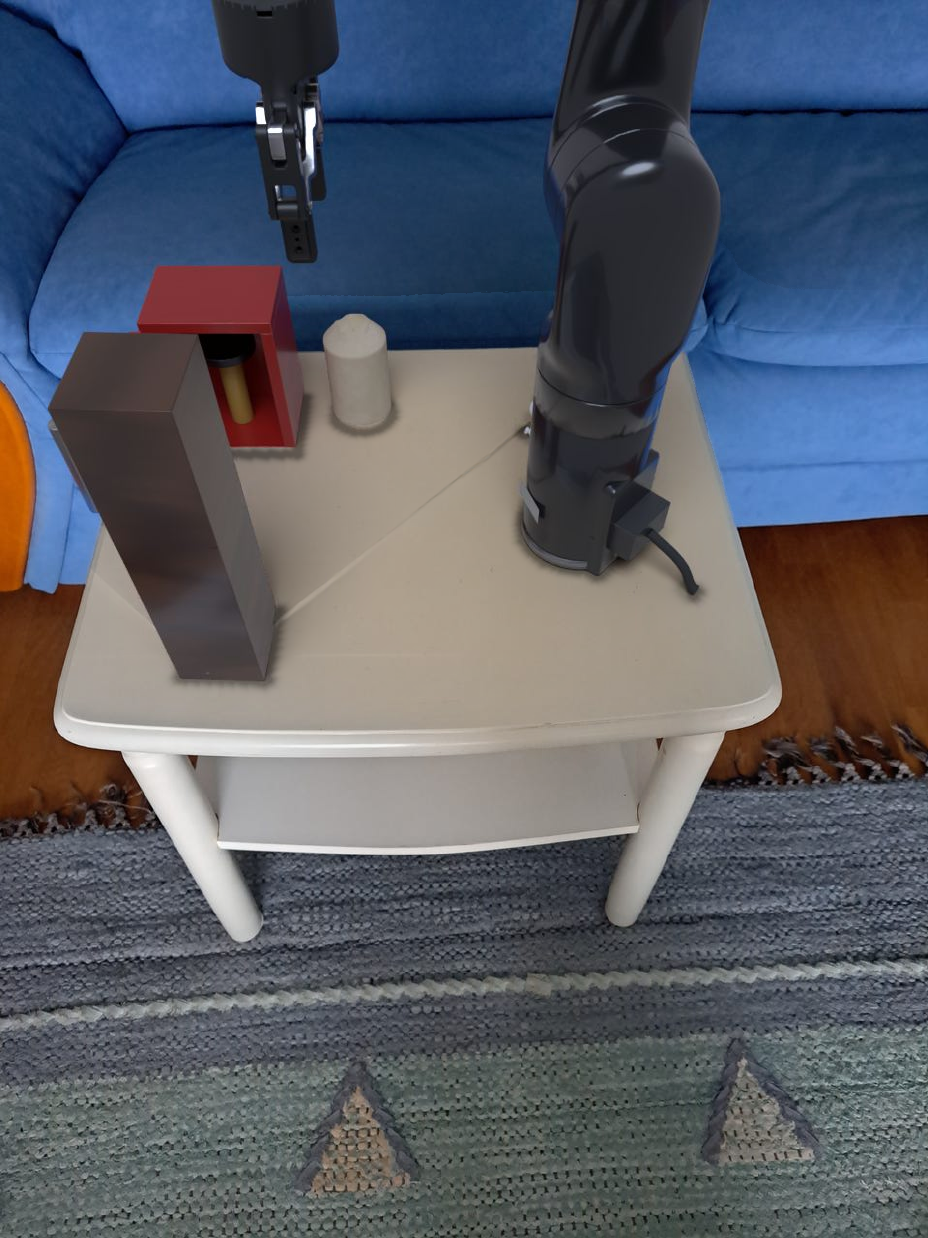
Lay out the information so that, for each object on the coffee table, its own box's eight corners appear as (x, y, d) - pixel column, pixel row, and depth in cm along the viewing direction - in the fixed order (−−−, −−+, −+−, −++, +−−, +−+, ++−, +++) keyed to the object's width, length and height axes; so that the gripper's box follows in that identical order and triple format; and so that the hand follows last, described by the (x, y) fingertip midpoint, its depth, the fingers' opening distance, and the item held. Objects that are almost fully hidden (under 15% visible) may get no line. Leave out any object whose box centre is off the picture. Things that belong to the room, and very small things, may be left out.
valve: (283, 415, 81) (267, 339, 74) (239, 444, 79) (218, 368, 72) (247, 391, 83) (228, 314, 76) (203, 418, 81) (180, 342, 74)
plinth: (277, 612, 69) (198, 333, 48) (264, 681, 65) (171, 411, 44) (197, 610, 69) (83, 330, 48) (179, 678, 65) (46, 408, 44)
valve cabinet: (297, 454, 79) (270, 323, 68) (182, 455, 79) (135, 323, 68) (305, 397, 84) (281, 264, 73) (196, 397, 84) (156, 264, 73)
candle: (383, 436, 81) (375, 346, 73) (327, 428, 81) (312, 338, 73) (398, 398, 84) (391, 308, 76) (343, 390, 85) (331, 300, 77)
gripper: (224, -66, 57) (269, 180, 70) (187, 23, 48) (246, 284, 62) (339, -67, 57) (362, 180, 70) (322, 22, 49) (352, 283, 62)
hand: (308, 228), depth 66 cm, fingers open, 8 cm apart
